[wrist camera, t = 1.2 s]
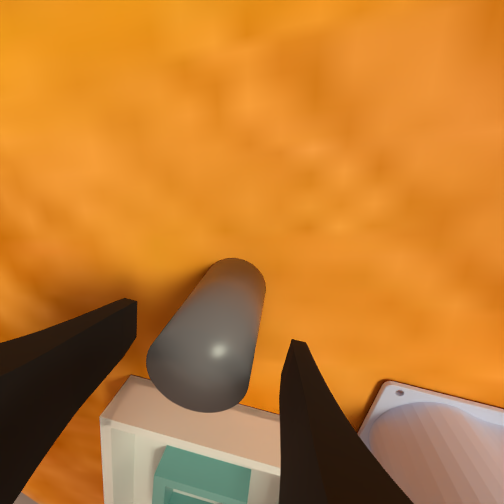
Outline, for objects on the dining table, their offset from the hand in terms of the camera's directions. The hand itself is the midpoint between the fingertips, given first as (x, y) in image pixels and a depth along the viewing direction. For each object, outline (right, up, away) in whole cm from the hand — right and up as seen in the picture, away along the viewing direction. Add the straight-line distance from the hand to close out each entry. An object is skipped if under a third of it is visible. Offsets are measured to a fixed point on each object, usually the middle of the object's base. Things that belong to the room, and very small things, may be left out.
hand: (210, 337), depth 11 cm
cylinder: (+1, +2, +5) cm, 5 cm away
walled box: (-2, -17, +12) cm, 21 cm away
